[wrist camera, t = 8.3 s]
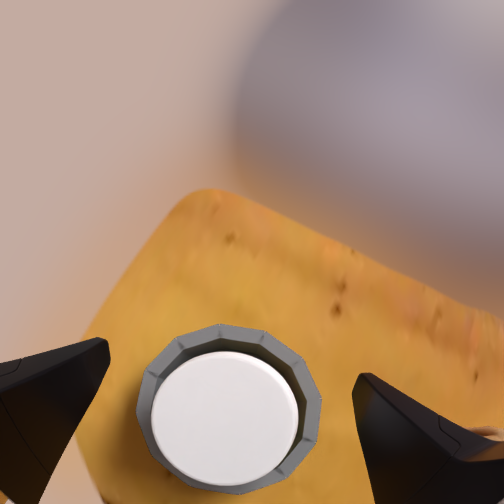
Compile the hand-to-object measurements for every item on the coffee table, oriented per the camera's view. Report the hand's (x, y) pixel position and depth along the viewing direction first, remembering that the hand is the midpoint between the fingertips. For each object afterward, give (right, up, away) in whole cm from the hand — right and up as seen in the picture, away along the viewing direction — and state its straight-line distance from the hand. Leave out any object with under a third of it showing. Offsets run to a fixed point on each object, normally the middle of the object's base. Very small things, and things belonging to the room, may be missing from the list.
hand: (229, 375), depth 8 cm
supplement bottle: (-1, -6, +6) cm, 8 cm away
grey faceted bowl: (-1, -6, +6) cm, 9 cm away
